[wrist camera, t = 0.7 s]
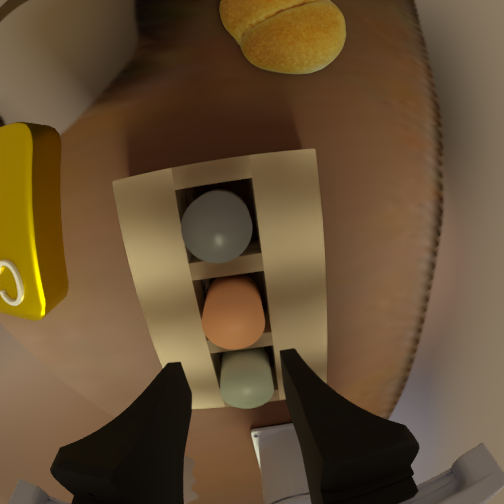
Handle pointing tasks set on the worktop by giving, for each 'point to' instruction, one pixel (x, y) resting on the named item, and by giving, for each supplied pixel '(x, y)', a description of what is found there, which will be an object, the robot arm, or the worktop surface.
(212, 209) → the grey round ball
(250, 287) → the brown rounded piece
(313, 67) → the bread roll
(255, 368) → the sage button
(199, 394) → the button panel
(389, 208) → the worktop surface
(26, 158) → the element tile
